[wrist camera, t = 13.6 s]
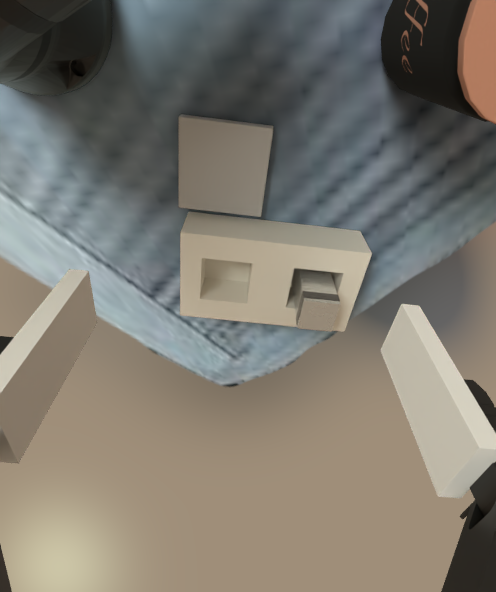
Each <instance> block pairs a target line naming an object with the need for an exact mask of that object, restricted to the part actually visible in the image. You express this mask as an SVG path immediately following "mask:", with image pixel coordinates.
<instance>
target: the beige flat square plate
mask: <svg viewBox="0 0 496 592" xmlns="http://www.w3.org/2000/svg"><path fill="white" fill-rule="evenodd" d="M272 135H273V126H270V125H262V124H254V123H246V122H239V121H231V120H223V119H215V118H207V117H199V116H191V115H183V114H181V115H180V116H179V208H187V209H196V210H205V211H214V212H222V213H231V214H240V215H249V216H257V217H261V213H262V206H263V198H264V191H265V184H266V177H267V170H268V163H269V156H270V149H271V142H272Z"/></svg>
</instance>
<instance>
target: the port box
mask: <svg viewBox="0 0 496 592" xmlns="http://www.w3.org/2000/svg"><path fill="white" fill-rule="evenodd" d="M371 255H372V253H371V251H370V249H369V247H368V245H367V243H366V241H365V239H364V237H363V236H362V234H361V232H360V231H356V230H348V229H339V228H330V227H321V226H312V225H304V224H295V223H286V222H277V221H269V220H260V219H251V218H242V217H234V216H225V215H216V214H207V213H199V212H190V211H189V212H188V214H187V217H186V220H185V222H184V225H183V227H182V230H181V232H180V315H182V316H192V317H202V318H212V319H222V320H232V321H242V322H252V323H262V324H272V325H282V326H292V327H297V324H296V313H295V306H294V299H293V291H292V284H291V281H292V276H293V272H294V268H299V269H308V270H318V271H327V272H331V275H332V279H333V282H334V285H335V288H336V292H337V295H338V296H339V299H340V307H339V311H338V314H337V317H336V320H335V323H334V326H333V329H332V331H342V332H344V331H345V328H346V325H347V323H348V320H349V317H350V314H351V311H352V309H353V306H354V303H355V300H356V297H357V295H358V292H359V289H360V286H361V283H362V281H363V278H364V275H365V272H366V269H367V266H368V264H369V261H370V258H371Z"/></svg>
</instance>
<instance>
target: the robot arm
mask: <svg viewBox="0 0 496 592" xmlns="http://www.w3.org/2000/svg"><path fill="white" fill-rule="evenodd" d="M111 37H112V7H111V1H110V0H0V83H1V84H4V85H6V86H9V87H11V88H14V89H16V90H19V91H22V92H25V93H29V94H34V95H44V96H50V95H58V94H63V93H66V92H70V91H73V90H76V89H78V88H80V87H82V86H84V85H85V84H87V83H88V82H89V81H90V80H91V79H92V78H93V77H94V76H95V75H96V74H97V73H98V71H99V70H100V69H101V67H102V65H103V63H104V61H105V59H106V57H107V54H108V51H109V47H110V43H111ZM96 324H97V318H96V312H95V306H94V300H93V294H92V288H91V283H90V277H89V271H83V270H73V269H69V270H68V271H67V273H66V274H65V275H64V276H63V278H62V279H61V280H60V281H59V283H58V284H57V285H56V286H55V288H54V289H53V290H52V291H51V293H50V294H49V295H48V296H47V297H46V299H45V300H44V301H43V303H42V304H41V305H40V306H39V307H38V309H37V310H36V311H35V312H34V314H33V315H32V316H31V317H30V319H29V320H28V321H27V322H26V323H25V325H24V326H23V327H22V328H21V330H20V331H19V332H18V333H17V335H16V336H15V337H4V336H0V462H7V463H19V462H20V460H21V458H22V456H23V455H24V453H25V451H26V449H27V448H28V446H29V444H30V442H31V440H32V439H33V437H34V435H35V433H36V431H37V429H38V428H39V426H40V424H41V422H42V421H43V419H44V417H45V415H46V414H47V412H48V410H49V408H50V406H51V405H52V403H53V401H54V399H55V397H56V396H57V394H58V392H59V390H60V388H61V387H62V385H63V383H64V381H65V380H66V377H67V376H68V374H69V372H70V371H71V369H72V367H73V365H74V363H75V362H76V360H77V358H78V356H79V355H80V353H81V351H82V349H83V347H84V345H85V344H86V342H87V340H88V338H89V337H90V335H91V333H92V331H93V329H94V328H95V326H96ZM381 353H382V355H383V358H384V361H385V363H386V366H387V368H388V371H389V373H390V376H391V378H392V381H393V383H394V386H395V389H396V391H397V394H398V396H399V399H400V401H401V404H402V406H403V409H404V411H405V414H406V417H407V419H408V421H409V424H410V427H411V429H412V432H413V434H414V437H415V439H416V442H417V444H418V447H419V450H420V452H421V455H422V457H423V460H424V462H425V465H426V467H427V470H428V473H429V475H430V478H431V480H432V483H433V485H434V488H435V490H436V493H437V495H438V496H440V497H452V498H462V496H463V495H464V494H465V493H466V492H467V491H468V490H469V489H470V490H471V492H472V494H473V496H474V498H475V501H474V502H473V503H472V504H471V505H470V506H469V507H468V508H467V509H466V510H465V511H464V512H463V513H462V514H461V516H460V517H461V518H462V519H464V518H465V517H466V516H467V518H466V521H465V524H464V527H463V530H462V532H461V535H460V539H459V541H458V544H457V547H456V550H455V553H454V556H453V559H452V562H451V565H450V568H449V571H448V574H447V577H446V580H445V582H444V585H443V588H442V591H441V592H496V408H495V407H494V404H493V403H492V401H491V399H490V398H489V396H488V395H487V393H486V392H485V391H484V390H483V389H482V388H481V387H480V386H479V385H478V384H477V383H476V382H474V381H473V380H465V379H463V378H462V377H461V375H460V373H459V371H458V370H457V368H456V366H455V365H454V363H453V362H452V360H451V358H450V357H449V355H448V353H447V351H446V350H445V348H444V346H443V345H442V343H441V341H440V340H439V338H438V336H437V335H436V333H435V332H434V330H433V328H432V327H431V325H430V323H429V321H428V320H427V318H426V316H425V315H424V313H423V311H422V310H421V308H420V307H419V306H417V305H407V304H401V306H400V308H399V311H398V313H397V315H396V317H395V320H394V322H393V324H392V326H391V328H390V331H389V333H388V335H387V337H386V339H385V342H384V344H383V346H382V348H381ZM0 592H12V591H11V587H10V582H9V579H8V575H7V570H6V566H5V562H4V558H3V554H2V550H1V545H0Z"/></svg>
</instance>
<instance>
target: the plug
mask: <svg viewBox="0 0 496 592" xmlns="http://www.w3.org/2000/svg"><path fill="white" fill-rule="evenodd" d="M291 284H292V291H293V299H294V306H295V313H296V324H297V328H300V329H310V330H320V331H330V332H332V329H333V326H334V323H335V320H336V317H337V314H338V311H339V307H340V299H339V296H338V295H337V292H336V288H335V285H334V282H333V279H332V275H331V272H327V271H318V270H308V269H299V268H294V272H293V276H292V281H291Z"/></svg>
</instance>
